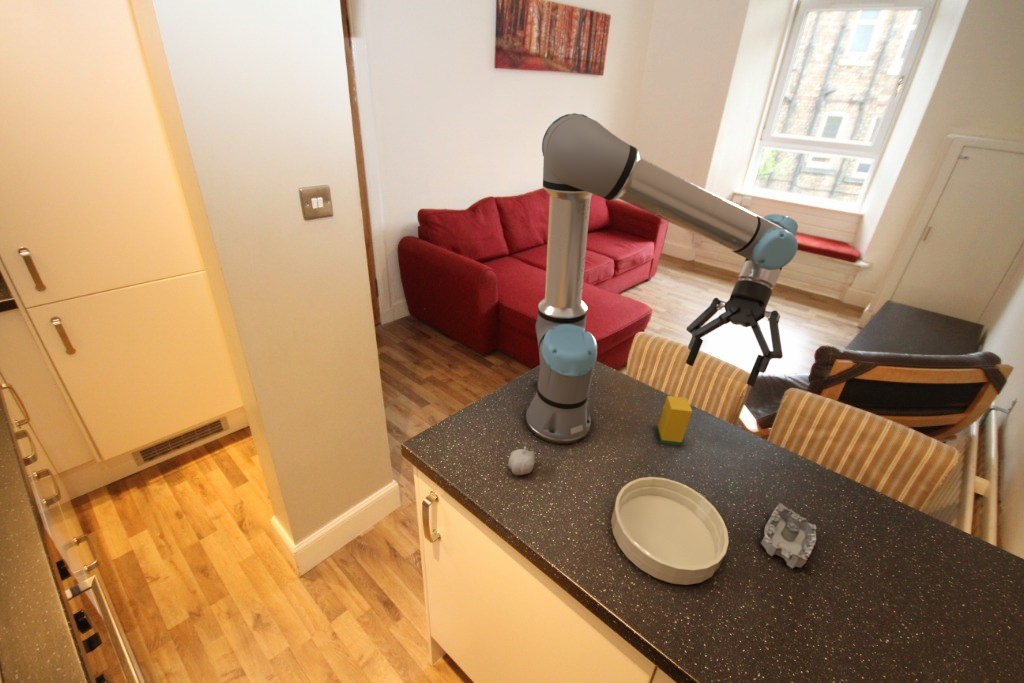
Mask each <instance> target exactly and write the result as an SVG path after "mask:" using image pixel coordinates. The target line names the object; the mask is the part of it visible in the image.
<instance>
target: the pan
mask: <svg viewBox="0 0 1024 683" xmlns="http://www.w3.org/2000/svg"><path fill="white" fill-rule="evenodd" d="M610 524H611V530H612V535H613V537H614V539H615V541H616V544H617V545H618V547H619V549H620V550H621V551H622V553H623V554H624V555H625V557H626V558H627V559H628V560H629V561H630V562H631V563H633V564H634V565H635V566H636V567H637V568H638V569H639V570H641V571H642V572H644V573H646V574H648V575H650V576H651V577H653V578H655V579H658V580H660V581H664V582H666V583H670V584H675V585H682V586H683V585H684V586H687V585H688V586H689V585H693V584H700V583H703V582H704V581H706V580H709V579H710V578H712V577H713V576H714V574H715V573H717V571H718V570H719V568H720V566H721V565H722V562H723V560H724V558H725V556H726V554H727V551H728V548H729V543H730V542H729V541H730V540H729V530H728V528H727V525H726V524H725V521H724V519H723V517H722V516H721V514H720V512H719V510H717V508H716V507H715V506H714V505H713V504H712V503H711V502H710V501H709V499H706V497H704V495H703V494H701V493H699V492H697V491H696V489H693V488H692V487H690V486H687V485H685V484H683V483H681V482H679V481H676V480H673V479H669V478H664V477H656V476H647V477H639V478H637V479H634V480H631V481H629V482H627V483H626V484H625V485H624V486H623V487H622V488H621V489H620V491H619V492H618V494H617V496H616V497H615V502H614V505H613V508H612V513H611V519H610Z"/></svg>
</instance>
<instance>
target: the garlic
mask: <svg viewBox="0 0 1024 683" xmlns="http://www.w3.org/2000/svg"><path fill="white" fill-rule="evenodd" d="M527 447H528V446H527V445H524V446H523V448H519V449H514V450H512V451H511V452H510V456H509V458H508V462H507V465H508V468H509V469H510V470H511V473H512V474H513V475H515V476H523V475H529V474H530V473H531V472H532V471H533V469H534V466H535V464H536V461H535V459H536V455H535V453H534V452H533V451H532V450H531V451H530V450H528V449H527Z"/></svg>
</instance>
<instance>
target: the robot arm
mask: <svg viewBox="0 0 1024 683" xmlns="http://www.w3.org/2000/svg"><path fill="white" fill-rule="evenodd" d="M541 152H542V157H543V167H542V173H543V174H542V189H544V191H545V192H546V193H547V194H548V196H549V199H548V200H549V202H548V221H547V222H548V224H547V244H546V246H547V247H546V265H545V266H546V268H545V290H544V291H545V292H544V298H543V299H541V300H540V301H539V303H538V305H537V318H536V322H535V334H536V339H537V340H536V341H537V346H538V348H537V349H538V356H539V370H538V371H539V372H538V379H537V381H534V382H533V383H534V386H535V388H536V392H535V394H534V396H533V398H532V399H531V402H530V404H529V405H528V407H527V409H526V412H525V424H526V427H527V428H528V430H529V431H530V432H531V433H532V435H534V436H535V437H536V438H538V439H540V440H542V441H544V442H547V443H551V444H555V445H571V444H576V443H578V442H580V441H583V440H584V439H585V438H586V437H587V436H588V434H589V432H590V430H591V424H592V423H591V422H592V421H591V419H592V418H591V412H590V408H589V407H590V406H589V403H588V402H589V401H588V398H589V393H590V389H591V383H592V379H593V374H594V369H595V365H596V362H597V359H598V358H597V357H598V343H597V340H596V338H595V336H594V335H593V334H592V333H591V332H590V331H586V325H587V313H588V306H587V304H586V303H585V302H584V301H583V300H582V298H583V287H584V278H585V277H584V275H585V265H586V264H585V263H586V253H587V242H588V241H587V240H588V233H589V232H588V230H589V219H590V209H591V199H592V196H593V195H595V196H597V197H600V198H603V199H604V200H607V201H609V202H613V201H616V200H618V199H619V200H621V201H623V202H625V203H627V204H629V205H632V206H634V207H636V208H638V209H640V210H643V211H645V212H646V213H649V214H651V215H652V216H655V217H657V218H660V219H662V220H663V221H666V222H668V223H670V224H672V225H674V226H677V227H679V228H681V229H684V230H686V231H688V232H690V233H692V234H694V235H696V236H698V237H701V238H703V239H705V240H707V241H709V242H711V243H713V244H716V245H718V246H720V247H722V248H723V249H727V250H729V251H730V252H732V253H734V254H736V255H738V256H740V257H743V258H745V260H744V262H743V265H742V267H741V270H740V272H739V274H738V276H737V281H736V282H735V284H734V285H733V289H732V292H731V294H730V297H729V299H728V300H727V301H724V300H722V299H719V298H718V297H714V298H713V299H712V300H711V303H710V304H709V306H708V307H707V308H706V309H704V311H702V313H700V315H698V316H697V317H696V318H695V319H694V320H693V321H692V322H691V323H690V324H688V326H687V327H686V331H687V332H688V333H689V334H691V338H690V341H689V343H688V346H687V349H688V350H689V353H688V356H687V357H686V361H685V364H686V365H688V366H691V367H693V366H694V364H695V362H696V359H697V357H698V354H699V352H700V349H701V347H702V345H703V342H704V340H703V339H702V338H703V337H705V336H706V335H708V334H709V333H712V332H713V331H715V330H717V329H719V328H720V327H722V326H723V325H727V324H729V323H731V324H732V325H736V326H737V325H739V326H742V327H744V328H748V327H750V328H751V330H752V332H753V335H754V336H755V339H756V342H757V343H758V346H759V348H760V351H761V352H762V355H761V354H758V355H757V356H756V358H755V361H754V364H753V366H752V369H751V372H750V373H749V377H748V379H747V381H746V384H747V385H748V386H750V387H754V386H755V384H756V381H757V379H758V377H759V375H760V373H761V374H765V372H766V371H767V368H768V366H769V365H770V364H769V363H770V361H771V360H772V359H773V360H774V359H778V360H780V359H782V358H783V349H782V343H781V335H780V328H779V323H780V318H781V315H780V313H779V312H778V310H772V311H771V310H770V311H769V310H767V306H768V304H769V301H770V300H771V297H772V294H773V291H772V290H773V289H775V286H776V285H777V282H778V280H779V277H780V275H781V273H782V269H783V268H784V267H785V266H787V265H788V264H790V263H791V261H792V260H793V259H794V257H795V256H796V255H797V252H798V248H799V244H798V243H799V242H798V239H797V237H796V236H797V234H798V229H799V225H798V223H797V221H796V220H795V219H794V218H792V217H790V216H786V215H783V214H780V213H770V214H767V215H765V216H763V217H762V216H760V215H758V214H757V213H754V212H752V211H750V210H749V209H747V208H745V207H743V206H741V205H740V204H738V203H735V202H733V201H730V200H728V199H725V198H723V197H721V196H719V195H717V194H715V193H713V192H711V191H709V190H708V189H705V188H703V187H701V186H699V185H698V184H695V183H693V182H691V181H689V180H688V179H685V178H683V177H681V176H679V175H677V174H675V173H673V172H671V171H670V170H667V169H665V168H663V167H661V166H659V165H658V164H655V163H653V162H652V161H649V160H647V159H645V158H643V157H641V156H640V153H639V152H640V151H639V150H638V148H637V147H635V146H633V145H631V144H629V143H628V142H626V141H624V140H622V139H621V138H619V137H618V136H617V135H615V134H613V133H612V132H611V130H609V129H607V128H606V127H605V126H604V125H602V124H601V123H600V122H599V121H597V120H595V119H592V118H591V117H589V116H588V115H586V114H583V113H581V114H580V113H575V112H573V113H567V114H564V115H561V116H559V117H557V118H556V119H555V120H553V121H552V122H551V124H549V126H548V127H547V129H546V130H545V133H544V135H543V137H542V141H541ZM723 308H724V310H725V311H724V312H722V313H721V314H719V315H718V317H716V318H714V319H712V317H714V316H715V315H716V314H717V312H718V311H720V310H722V309H723ZM764 318H766V321H767V322H768V324H769V331H770V337H771V345H772V350H770V347H769V345H768V343H767V341H766V338H765V336H764V334H763V331H762V329H761V327H760V324H759V321H762V319H764ZM710 319H712V320H710ZM709 320H710V321H709ZM708 321H709V322H708ZM707 322H708V323H707Z"/></svg>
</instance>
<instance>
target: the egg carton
mask: <svg viewBox="0 0 1024 683" xmlns="http://www.w3.org/2000/svg"><path fill="white" fill-rule="evenodd" d="M763 531H764V532H763V534H764V536H763V539H762V540H761V542H760V544H761V546H762V547H763V548H764V550H765V551H766V554H768V555H769V556H770V557H773V556H778V557H781V558H782V559H783V560H784V561H785V562H786V566H788V567H789V568H791V569H794V568H795V567H796V568H803V566H804V565H805V564H806V563H807V560H808V558H810V556H811V554H812V551H813V549H814V546H815V545H816V542H817V532H816V531H817V525H816V524H815V523H810V522H809V521H808V520H807V518H806V517H803V516H801V515H800V514H799V513H798V512H797V513H796V512H795V511H794V510H793V509H788V507H786V506H785V505H784V504H783V503H782V502H779V503H778V504H777V506H776V507H775V508H774V510H773V512H772V513H771V514H770V516H769V518H768V521H767V522H766V524H765V526H764V529H763Z"/></svg>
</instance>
